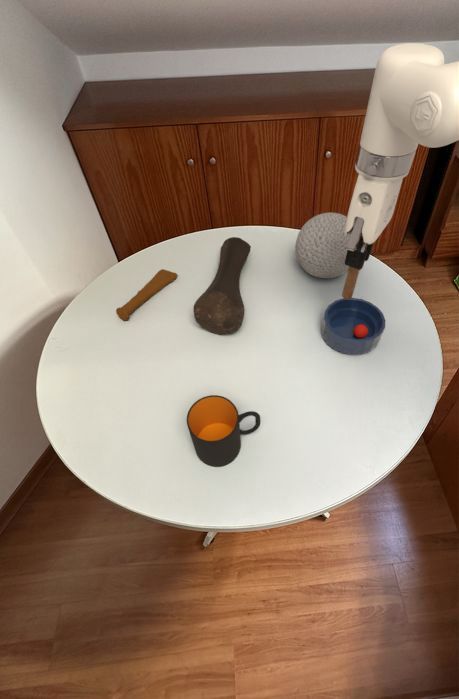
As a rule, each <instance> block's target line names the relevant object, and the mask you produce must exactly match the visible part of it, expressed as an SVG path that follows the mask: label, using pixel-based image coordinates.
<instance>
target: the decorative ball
mask: <svg viewBox="0 0 459 699" xmlns="http://www.w3.org/2000/svg"><path fill="white" fill-rule="evenodd" d="M346 219H347V216H346V215H344V214H342V213H338V212H323V213H320V214H317V215H314V216H313V217H311V218H310V219H308V220H307V221H306V222H305V223H304V225H303V226H302V227H301V229H300V230H299V232H298V234H297V238H296V241H295V255H296V258H297V260H298V261H297V262H298V263H299V265H300V266H301V267H302V269H303V270H304V271H305V272H307V273H308V274H309V275H311V276H313V277H315V278H320V279H333V278H337V277H339V276H341V275H343V274H345V273H347V272H348V268H349V266H347V265H345V259H346V255H347V245H348V242H349V239H350V237H351V234H350V235H349V236H348V237H346V236H345V234H344V231H345V224H346ZM351 233H352V232H351Z"/></svg>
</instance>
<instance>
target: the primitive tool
mask: <svg viewBox="0 0 459 699" xmlns="http://www.w3.org/2000/svg"><path fill="white" fill-rule="evenodd" d="M178 276H179V275H178V273H177V272H173V271H171V270H167V269H164V268H163V269H160V270H158V271H157V272H156V273H155V275H154V276H153V277H152V278H151V279H150V280H149V281H148V282H147V283H146V284H145V285H144V286H143V287H142V288H141V289H140V290H138V291H137V293H136V294H135V295H134V296H132V298H130V300H128V301H127V302H126V303H125V304H123V305H122V306H121V307H117V308H116V310H115V313H116V315H117V316H118V318H119V319H120V320H122V321H125V322H127V321H128V320H129V318H130V316H131V314H132V313H133V312H134V311H136V310H137V309H138V308H139V307H141V306H142V305H143V304H146V302H147V301H148V300H149V299H151V297H153V296H154V295H156V294H157V293H158V292H160V291H161V290H163V289H164V288H165V287H166V286H168V285H169V284H170V283H172V282H173V281H175V280H176V279H177V278H178Z"/></svg>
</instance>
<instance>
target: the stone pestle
mask: <svg viewBox="0 0 459 699" xmlns="http://www.w3.org/2000/svg"><path fill="white" fill-rule="evenodd" d="M251 248H252V246H251V245H250V243H248V242H247V241H246V240H244V239H243V238H241V237H237V236H232V237H228V238H226V239H225V240H224V241H223V243H222V245H221V247H220V253H219V254H220V256H219V262H218V268H217V272H216V274H215V276H214V278H213V280H212V282H211V284H209V286H208V287H207V289H205V291H204V292H203V293H202V294H201V295H200V296H199V297H198V298H197V300H196V301H194V305H193V316H194V320H195V323H196V324H198V325H199V326H200V327H201V328H202V329H204V330H207V331H208V332H211V333H213V334H217V335H224V336H225V335H232V334H235V333H236V332H238V331H239V330H240V328H241V326H242V324H243V322H244V318H245V311H246V310H245V304H244V301H243V298H242V295H241V294H242V293H241V288H240V278H241V273H242V270H243V267H244V265H245V263H246V262H247V259H248V257H249V254H250V253H251Z"/></svg>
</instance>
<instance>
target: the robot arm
mask: <svg viewBox="0 0 459 699" xmlns="http://www.w3.org/2000/svg"><path fill="white" fill-rule="evenodd" d="M458 141H459V60H457V61H453V62H448V63H445V56H444V53H443V51H442V50H441V49H440V48H438V47H436V46H434V45H431V44H427V43H417V42H416V43H415V42H408V43H406V42H405V43H399V44H395V45H393V46H390V47H388V48H386V49H385V50H384V51H382V53H381V54H380V56H379V57H378V59H377V62H376V66H375V70H374V75H373V79H372V84H371V88H370V93H369V98H368V103H367V107H366V112H365V118H364V121H363V127H362V131H361V136H360V140H359V145H358V150H357V154H356V160H355V163H354V170H355V171H356V173H357V174H358V176H357V179H356V183H355V186H354V188H353V193H352V196H351V200H350V203H349V208H348V212H347V216H346V217H347V219H346V224H345V231H344V234H345V236H346V237H348V236H349V235H350V234H351V237H350V239H349V242H348V245H347V255H346V259H345V265H347V266H350V267H353V268H356V269H359V270H360V271H361V270H362V269H363V267H364V264H365V262H367V261H369V259H370V256H371V253H372V249H373V246H374V243H375V242H376V241H377V239H379V237H380V236H381V234H382V233H383V231H384V230H385V229H386V227H387V226H388V224H389V223H390V221H391V220H392V218H393V216H394V212H395V208H396V205H397V201H398V198H399V194H400V190H401V187H402V183H403V179H404V178H405V177H407V176H408V175H409V173H410V170H411V167H412V165H413V161H414V159H415V157H416V156H415V155H416V151H417V149H418V146H419V145H421V146H422V147H425V148H431V149H432V148H433V149H434V148H441V147H445V146H448V145H450V144H453V143H455V142H458ZM351 232H352V233H351ZM359 239H361V240H364V241H363V243H362V242H359Z"/></svg>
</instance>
